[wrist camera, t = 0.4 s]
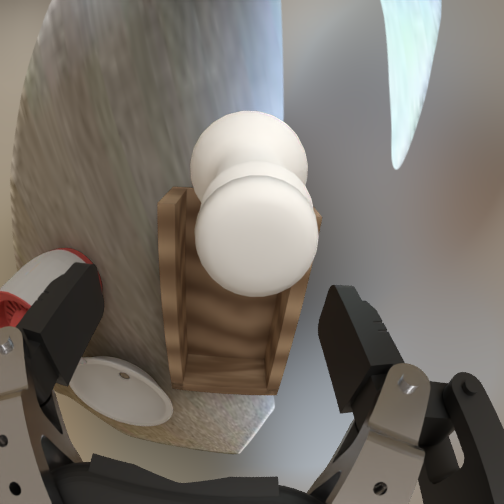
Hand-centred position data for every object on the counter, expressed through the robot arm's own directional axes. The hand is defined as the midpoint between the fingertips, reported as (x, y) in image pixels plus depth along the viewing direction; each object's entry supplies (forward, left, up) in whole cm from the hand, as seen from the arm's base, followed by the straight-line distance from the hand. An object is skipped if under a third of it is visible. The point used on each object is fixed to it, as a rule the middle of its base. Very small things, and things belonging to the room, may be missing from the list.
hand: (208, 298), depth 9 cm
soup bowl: (+45, -21, -29) cm, 57 cm away
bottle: (-2, +1, -29) cm, 29 cm away
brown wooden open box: (+20, +1, -29) cm, 35 cm away
